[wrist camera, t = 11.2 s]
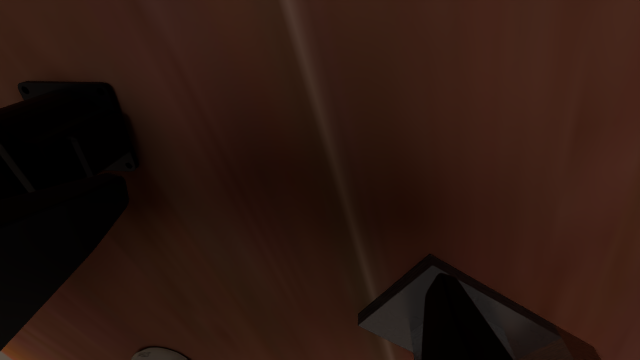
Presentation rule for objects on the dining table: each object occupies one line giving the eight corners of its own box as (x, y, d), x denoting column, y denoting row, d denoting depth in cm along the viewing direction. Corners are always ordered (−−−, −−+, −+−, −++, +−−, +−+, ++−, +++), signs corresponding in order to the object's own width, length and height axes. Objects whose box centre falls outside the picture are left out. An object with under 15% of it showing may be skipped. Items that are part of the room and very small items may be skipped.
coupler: (358, 314, 30) (357, 367, 26) (429, 253, 25) (443, 307, 21) (504, 387, 34) (525, 444, 29) (593, 347, 29) (633, 409, 24)
